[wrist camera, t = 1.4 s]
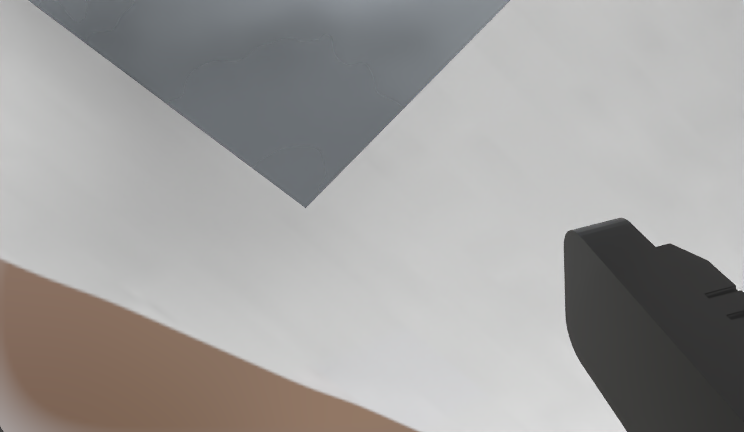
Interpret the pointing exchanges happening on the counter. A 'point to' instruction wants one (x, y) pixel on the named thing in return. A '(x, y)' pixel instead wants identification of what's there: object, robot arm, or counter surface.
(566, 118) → the counter surface
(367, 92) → the panel
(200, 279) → the counter surface
